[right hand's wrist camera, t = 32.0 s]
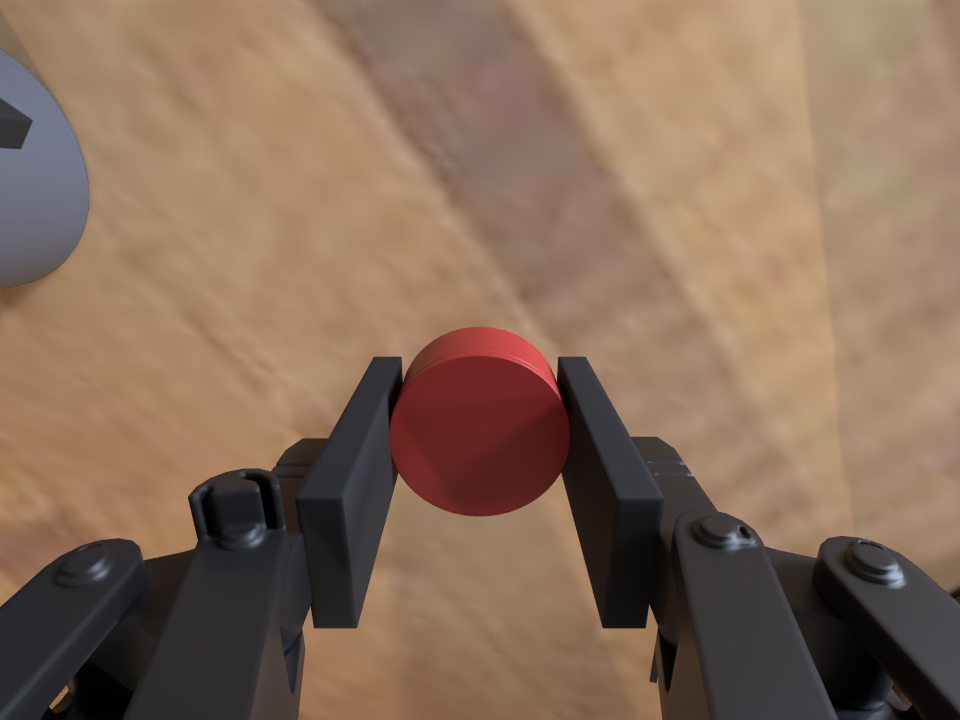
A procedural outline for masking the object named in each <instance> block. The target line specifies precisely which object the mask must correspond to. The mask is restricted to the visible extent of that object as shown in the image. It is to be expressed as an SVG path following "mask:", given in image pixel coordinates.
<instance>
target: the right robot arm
mask: <svg viewBox="0 0 960 720" xmlns="http://www.w3.org/2000/svg"><path fill="white" fill-rule="evenodd" d="M402 384H403V377H402V360H401V357H374V358H373V360H372V361H371V363H370V365H369V367H368V369H367V370H366V372H365V374H364V376H363V378H362V379H361V381H360V383H359V385H358V386H357V388H356V390H355V392H354V394H353V395H352V397H351V399H350V401H349V403H348V404H347V406H346V408H345V410H344V411H343V413H342V415H341V417H340V419H339V420H338V422H337V424H336V426H335V428H334V429H333V431H332V433H331V435H330V436H329V438H307V439H301V440H300V441H298V442H297V443H296V444H294V445H293V446H291V447H290V448H288V449H287V450H285V452H284V453H283V455H282V456H281V458H280V459H279V461H278V462H277V464H276V467H274V468H273V469H272V471H271V472H270V471H266V470H262V469H239V470H234V471H229V472H225V473H223V474H220V475H217V476H215V477H212V478H210V479H208V480H207V481H205V482H204V483H202V484H200V485H199V486H197V487H196V488H195V489H194V490H193V492H192V493H191V494H190V495H189V496H188V500H189V504H190V508H191V513H192V517H193V521H194V525H195V530H196V534H197V538H198V543H197V545H196V547H195V549H192V550H189V551H185V552H181V553H177V554H172V555H167V556H163V557H158V558H153V559H149V560H143V557H142V553H141V550H140V547H139V546H138V545H137V544H136V543H134V542H133V541H131V540H125V539H120V538H117V539H107V540H100V541H96V542H92V543H90V544H89V543H88V544H85V545H82V546H80V547H78V548H76V549H74V550H72V551H70V552H68V553H66V554H64V555H62V556H60V557H59V558H57V559H56V560H54V561H53V562H52V563H50V564H49V565H47V566H46V567H45V568H43V569H42V570H41V571H40V572H39V573H38V574H37V575H36V576H34V577H33V578H32V579H31V580H30V581H29V582H28V583H27V584H26V585H24V586H23V587H22V588H21V589H20V590H19V591H18V592H17V593H16V594H14V595H13V596H12V597H11V598H10V599H9V600H8V601H7V602H5V603H4V604H3V605H2V606H1V607H0V720H298V713H299V703H300V694H301V684H302V675H303V666H304V656H305V644H304V637H303V631H302V626H303V624H304V621H305V618H306V616H307V613H308V611H309V608H310V606H311V611H312V618H313V624H314V628H357V626H358V622H359V618H360V615H361V611H362V607H363V603H364V600H365V596H366V592H367V588H368V585H369V581H370V577H371V573H372V570H373V566H374V562H375V558H376V555H377V551H378V547H379V543H380V540H381V536H382V532H383V528H384V525H385V521H386V517H387V513H388V510H389V506H390V502H391V498H392V495H393V491H394V487H395V483H396V480H397V476H398V470H397V468H396V466H395V464H394V461H393V459H392V456H391V447H390V431H389V424H390V419H391V415H392V412H393V409H394V406H395V403H396V401H397V398H398V395H399V392H400V389H401V387H402ZM557 385H558V388H559V390H560V393H561V396H562V399H563V401H564V404H565V407H566V410H567V413H568V417H569V421H570V441H569V454H568V457H567V460H566V463H565V465H564V467H563V469H562V471H561V473H562V477H563V481H564V485H565V488H566V492H567V496H568V500H569V503H570V507H571V511H572V515H573V518H574V522H575V526H576V530H577V533H578V537H579V541H580V545H581V548H582V552H583V556H584V560H585V563H586V567H587V571H588V575H589V578H590V582H591V586H592V590H593V593H594V597H595V601H596V605H597V608H598V612H599V616H600V620H601V623H602V627H603V628H646V622H647V615H648V609H649V604H650V607H651V609H652V612H653V614H654V617H655V619H656V622H657V625H658V631H657V637H656V643H655V650H654V656H653V662H652V669H651V675H650V682H654V683H656V682H657V677H658V683H659V693H660V702H661V711H662V720H960V595H959V596H958V597H956V598H955V599H953V598H952V597H951V596H950V595H949V594H948V593H947V592H946V591H944V590H943V589H942V588H941V587H940V586H939V585H938V584H937V583H935V582H934V581H933V580H932V579H931V578H930V577H929V576H928V575H926V574H925V573H924V572H923V571H922V570H921V569H920V568H919V567H917V566H916V565H915V564H914V563H912V562H911V561H909V560H908V559H907V558H905V557H904V556H902V555H901V554H900V553H898V552H895V551H893V550H891V549H889V548H887V547H885V546H883V545H881V544H879V543H876V542H873V541H869V540H866V539H862V538H856V537H846V536H839V537H833V538H828V539H827V540H825V541H824V542H823V543H822V544H821V545H820V548H819V552H818V555H817V558H812V557H808V556H803V555H798V554H793V553H789V552H784V551H779V550H776V549H772V548H768V547H765V546H764V544H763V542H762V540H761V539H760V537H759V536H758V534H757V533H756V532H755V530H754V529H752V528H751V527H750V526H748V525H747V524H746V523H744V522H743V521H742V520H739V519H737V518H735V517H733V516H731V515H728V514H726V513H722V512H718V511H717V510H716V508H715V507H714V505H713V504H712V502H711V501H710V499H709V498H708V497H707V495H706V494H705V492H704V491H703V489H702V488H701V486H700V485H699V484H698V482H697V481H696V479H695V478H694V476H692V475H691V472H690V471H689V469H688V468H687V466H686V465H684V462H683V460H682V459H681V458H680V456H679V455H678V453H677V452H676V450H675V449H674V448H673V447H671V446H670V445H668V444H667V443H665V442H664V441H662V440H661V439H659V438H658V437H630V435H629V434H628V432H627V430H626V428H625V426H624V425H623V423H622V421H621V419H620V417H619V416H618V414H617V412H616V410H615V409H614V407H613V405H612V403H611V401H610V400H609V398H608V396H607V394H606V392H605V391H604V389H603V387H602V385H601V384H600V382H599V380H598V378H597V376H596V375H595V373H594V371H593V369H592V367H591V366H590V364H589V362H588V360H587V359H586V357H558V371H557ZM893 683H894V684H893ZM66 685H67V687H68V690H69V691H68V692H67V694H66V695H65V696H64V697H63V699H62V700H61V701H60V702H59V703H58V704H57V705H56V706H55V707H54V708H52V709H50V708H49V706H50V704H51V703H52V702H53V701H54V700H55V698H56V697H57V696H58V695H59V693H60V692H61V691H62V690H63V689H64V687H65V686H66ZM892 686H893V687H892ZM891 688H892V689H891Z"/></svg>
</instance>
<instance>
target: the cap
mask: <svg viewBox="0 0 960 720" xmlns="http://www.w3.org/2000/svg"><path fill="white" fill-rule="evenodd" d="M389 431H390V447H391V456H392V459H393V461H394V464H395V466H396V468H397V470H398V472H399V474H400V475H401V477H402V478H403V480H404V481H405V482H406V484H407V485H408V486H409V487H410V488H411V489H412V490H413V491H414V492H415V493H416V494H417V495H419V496H420V497H421V498H423V499H424V500H426V501H427V502H429V503H431V504H432V505H434V506H436V507H438V508H441V509H443V510H446V511H449V512H452V513H456V514H461V515H467V516H492V515H499V514H503V513H508V512H511V511H514V510H516V509H519V508H521V507H523V506H525V505H527V504H529V503H531V502H532V501H534V500H535V499H537V498H538V497H540V496H541V495H542V494H543V493H544V492H546V491H547V490H548V489H549V487H550V486H551V485H552V484H553V483H554V482H555V480H556V479H557V478H558V476H559V475H560V473H561V471H562V469H563V467H564V465H565V463H566V460H567V457H568V454H569V441H570V421H569V417H568V413H567V410H566V407H565V404H564V401H563V399H562V396H561V393H560V390H559V388H558V385H557V382H556V379H555V377H554V374H553V372H552V369H551V368H550V366H549V364H548V362H547V361H546V359H545V358H544V357H543V356H542V354H541V353H540V352H539V351H538V350H537V349H536V348H535V347H534V346H533V345H531V344H530V343H528V342H527V341H526V340H524V339H523V338H521V337H519V336H517V335H515V334H513V333H510V332H507V331H505V330H500V329H496V328H489V327H470V328H463V329H459V330H455V331H452V332H449V333H447V334H445V335H442V336H441V337H439V338H437V339H435V340H434V341H432V342H431V343H430V344H428V345H427V346H426V347H425V348H424V349H423V350H422V351H421V352H420V353H419V354H418V355H417V356H416V357H415V359H414V360H413V362H412V363H411V365H410V367H409V369H408V370H407V373H406V376H405V378H404V381H403V384H402V387H401V389H400V392H399V395H398V398H397V401H396V403H395V406H394V409H393V412H392V415H391V419H390V424H389Z"/></svg>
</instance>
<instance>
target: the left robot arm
mask: <svg viewBox="0 0 960 720" xmlns="http://www.w3.org/2000/svg"><path fill="white" fill-rule="evenodd" d="M32 122H33V120H32V119H30V118H29V117H27V116H26V115H24V114H23V113H22V112H20V111H19V110H17V109H16V108H14V107H13V106H11V105H10V104H9V103H7V102H6V101H4V100H3V99H1V98H0V148H6V149H21V148H22V146H23V144H24V141H25V139H26V136H27V134H28V132H29V129H30V127H31V125H32Z"/></svg>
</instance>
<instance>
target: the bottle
mask: <svg viewBox="0 0 960 720" xmlns="http://www.w3.org/2000/svg"><path fill="white" fill-rule="evenodd" d="M0 98H1V99H3V100H4V101H6V102H7V103H9V104H10V105H11V106H13V107H14V108H16V109H17V110H19V111H20V112H22V113H23V114H24V115H26V116H27V117H29V118H30V119H32V120H33V122H32V125H31V127H30V129H29V132H28V134H27V136H26V139H25V141H24V144H23V146H22V148H21V149H6V148H0V289H4V288H9V287H13V286H17V285H21V284H25V283H29V282H33V281H35V280H38V279H40V278H42V277H45V276H46V275H48V274H49V273H51V272H52V271H54V270H56V269H57V268H58V267H59V266H60V265H61V264H62V263H63V262H65V261H66V260H67V258H68V257H69V256H70V254H71V253H72V252H73V251H74V249H75V248H76V246H77V244H78V242H79V240H80V238H81V236H82V233H83V230H84V227H85V224H86V220H87V214H88V208H89V187H88V176H87V172H86V167H85V162H84V158H83V155H82V152H81V149H80V146H79V143H78V141H77V139H76V137H75V134H74V132H73V130H72V128H71V126H70V124H69V122H68V120H67V119H66V117H65V115H64V114H63V112H62V110H61V109H60V107H59V106H58V104H57V103H56V102H55V100H54V99H53V98H52V96H51V95H50V93H49V92H48V91H47V90H46V89H45V88H44V86H43V85H42V84H41V83H40V82H39V81H38V80H37V79H36V78H35V76H33V75H32V74H31V73H30V72H29V71H28V70H27V69H26V68H25V67H24V66H23V65H21V64H20V63H19V62H18V61H17V60H15V59H14V58H13V57H11V56H10V55H9V54H7V53H6V52H5V51H3V50H2V49H0Z"/></svg>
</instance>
